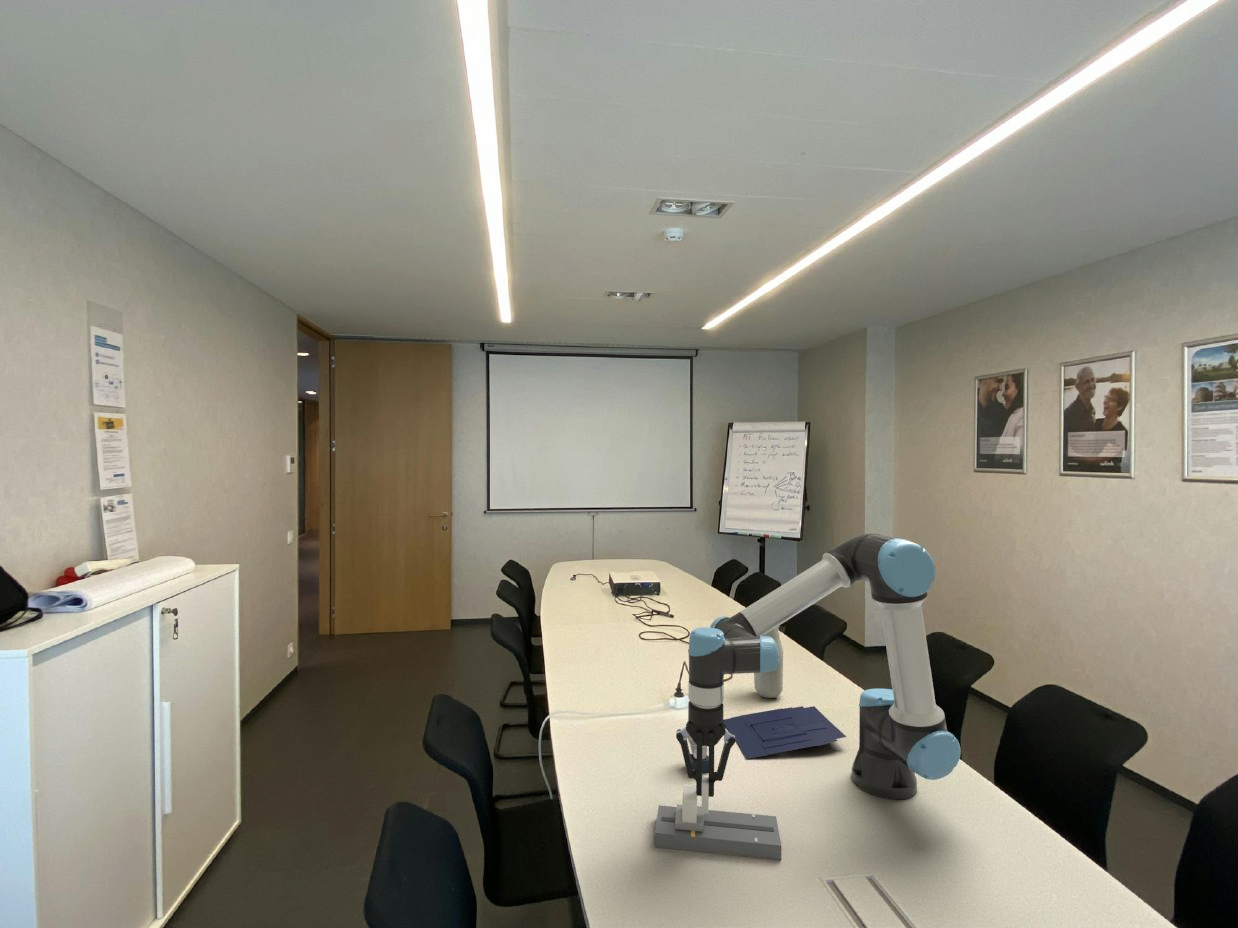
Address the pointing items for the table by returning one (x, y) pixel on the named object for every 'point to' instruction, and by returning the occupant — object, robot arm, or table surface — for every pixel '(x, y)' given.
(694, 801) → the fader tab
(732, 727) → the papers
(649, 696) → the table surface
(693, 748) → the watch
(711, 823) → the console
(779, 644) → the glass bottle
